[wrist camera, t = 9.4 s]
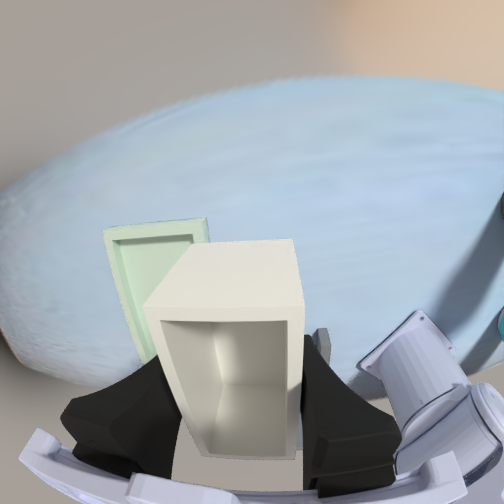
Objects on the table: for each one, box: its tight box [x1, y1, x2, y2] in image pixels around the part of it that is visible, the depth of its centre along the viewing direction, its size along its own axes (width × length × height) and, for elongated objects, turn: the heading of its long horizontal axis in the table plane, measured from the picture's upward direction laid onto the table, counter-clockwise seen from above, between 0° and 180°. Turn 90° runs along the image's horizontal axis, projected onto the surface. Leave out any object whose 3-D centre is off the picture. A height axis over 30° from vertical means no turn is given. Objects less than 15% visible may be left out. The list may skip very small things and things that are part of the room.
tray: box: [102, 217, 210, 364], centre depth 22 cm, size 14×9×2 cm, turn 5°
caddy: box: [142, 239, 305, 460], centre depth 12 cm, size 10×5×6 cm, turn 4°
